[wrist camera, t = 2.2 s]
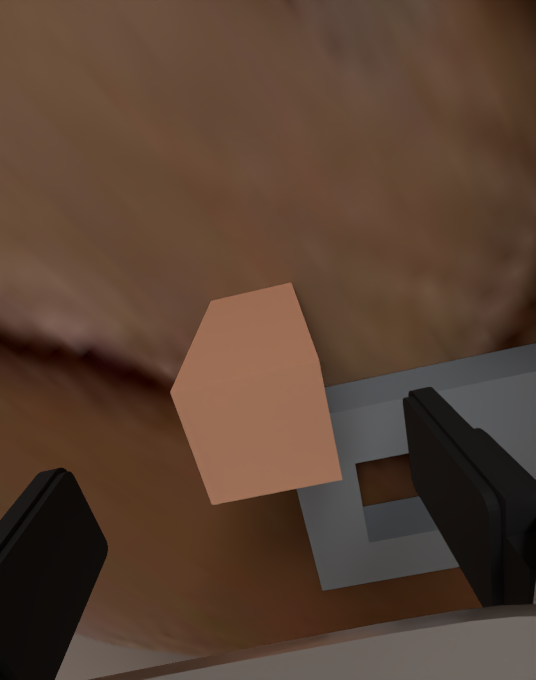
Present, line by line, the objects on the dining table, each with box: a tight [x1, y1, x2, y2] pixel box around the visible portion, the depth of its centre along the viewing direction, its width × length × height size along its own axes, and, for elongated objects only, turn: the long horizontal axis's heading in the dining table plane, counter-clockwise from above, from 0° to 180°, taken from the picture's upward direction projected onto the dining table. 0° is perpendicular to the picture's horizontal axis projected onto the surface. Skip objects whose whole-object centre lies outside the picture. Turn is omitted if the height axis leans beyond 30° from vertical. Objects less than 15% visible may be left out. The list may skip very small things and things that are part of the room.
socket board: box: [297, 343, 536, 591], centre depth 21 cm, size 12×22×2 cm, turn 103°
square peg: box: [170, 283, 342, 505], centre depth 15 cm, size 4×4×9 cm
